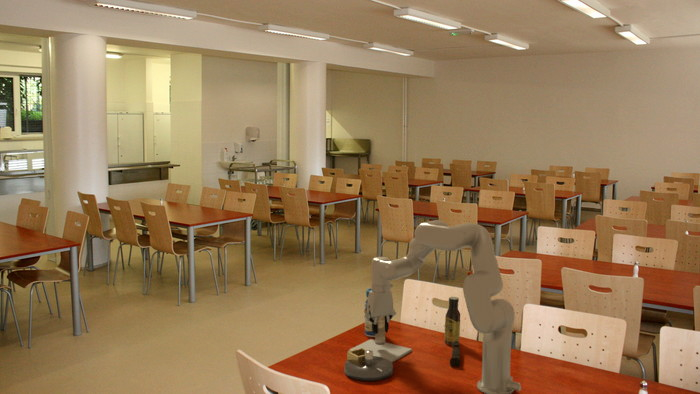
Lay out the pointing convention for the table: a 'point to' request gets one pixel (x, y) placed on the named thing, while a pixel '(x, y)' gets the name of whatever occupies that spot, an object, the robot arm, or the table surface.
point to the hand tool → (455, 355)
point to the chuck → (367, 366)
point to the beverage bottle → (367, 322)
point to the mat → (384, 350)
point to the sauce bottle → (452, 322)
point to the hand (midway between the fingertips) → (380, 331)
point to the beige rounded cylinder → (380, 331)
